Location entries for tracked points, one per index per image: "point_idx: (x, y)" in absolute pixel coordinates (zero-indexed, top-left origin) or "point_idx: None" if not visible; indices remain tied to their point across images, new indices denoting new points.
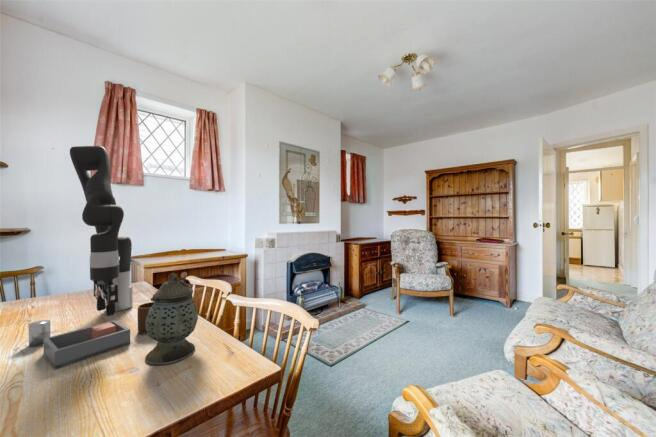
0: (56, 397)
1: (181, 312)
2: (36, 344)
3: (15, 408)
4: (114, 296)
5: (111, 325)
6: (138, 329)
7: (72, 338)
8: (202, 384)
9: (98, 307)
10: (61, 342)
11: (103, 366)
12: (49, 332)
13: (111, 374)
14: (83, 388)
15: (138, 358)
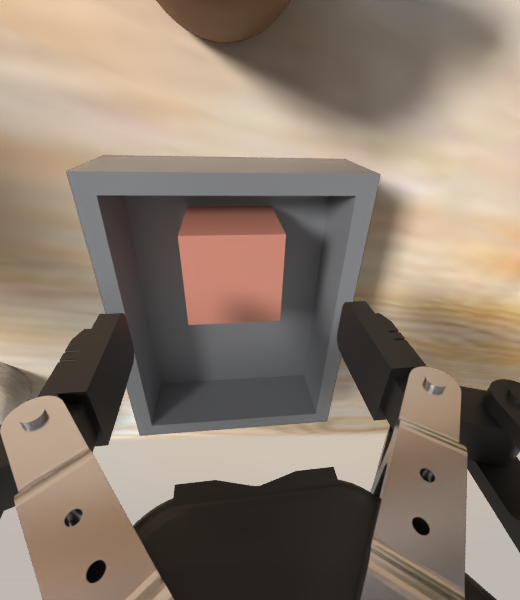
0: (467, 383)
1: None
2: (27, 398)
3: None
4: (458, 442)
5: (254, 249)
6: (220, 40)
7: (144, 347)
8: None
9: (127, 373)
10: (152, 373)
11: (435, 292)
12: None
13: (509, 291)
14: (495, 347)
15: (515, 197)
